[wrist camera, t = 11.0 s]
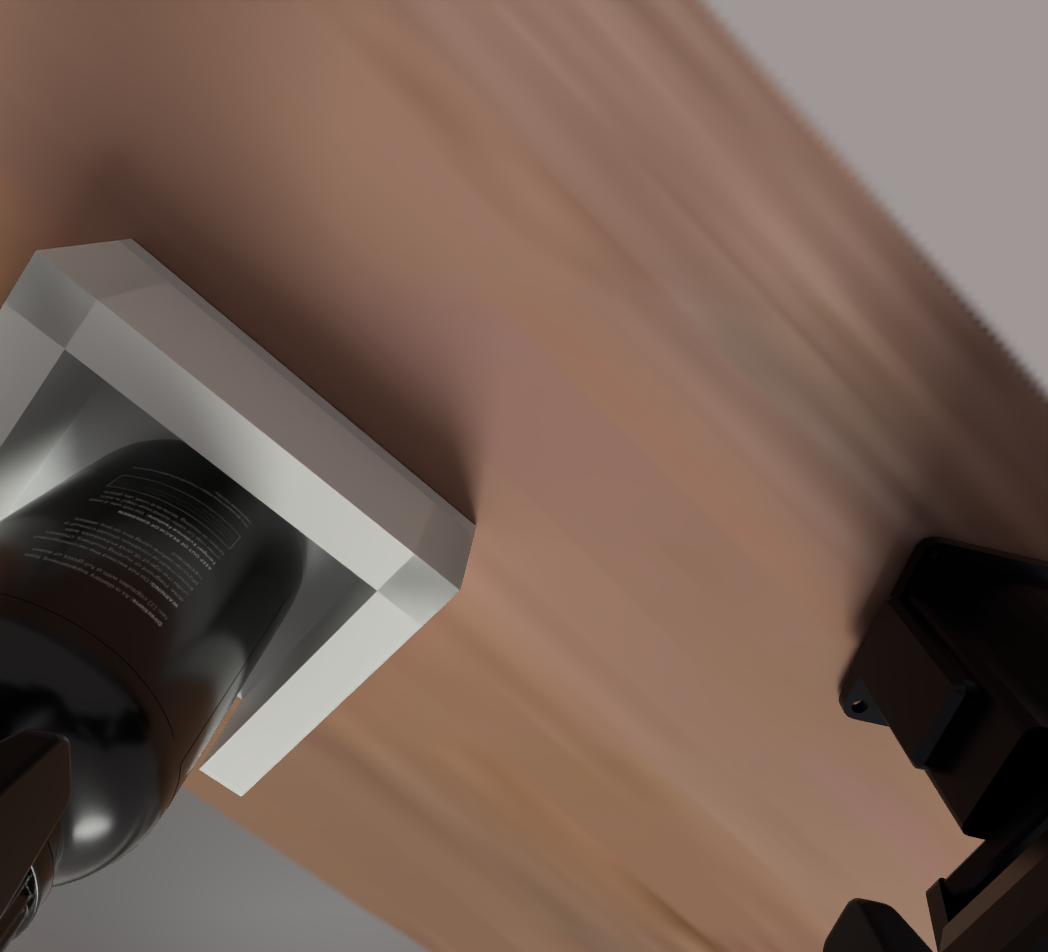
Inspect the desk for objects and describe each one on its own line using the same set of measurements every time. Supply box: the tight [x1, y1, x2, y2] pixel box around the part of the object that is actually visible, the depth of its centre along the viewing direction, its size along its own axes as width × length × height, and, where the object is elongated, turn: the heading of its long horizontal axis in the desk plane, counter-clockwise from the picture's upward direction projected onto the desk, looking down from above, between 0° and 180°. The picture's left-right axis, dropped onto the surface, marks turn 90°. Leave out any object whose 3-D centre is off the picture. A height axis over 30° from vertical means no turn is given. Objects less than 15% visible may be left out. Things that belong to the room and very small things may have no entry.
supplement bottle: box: [0, 439, 304, 952], centre depth 15 cm, size 7×7×12 cm
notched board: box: [0, 239, 476, 797], centre depth 19 cm, size 10×12×4 cm
